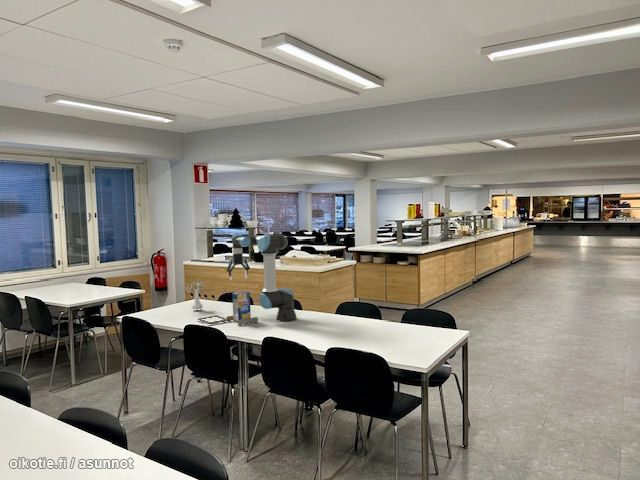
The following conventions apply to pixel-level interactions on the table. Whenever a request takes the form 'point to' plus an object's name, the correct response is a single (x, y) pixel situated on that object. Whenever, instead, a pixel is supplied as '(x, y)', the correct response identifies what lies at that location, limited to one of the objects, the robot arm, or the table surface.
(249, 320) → the carton holder
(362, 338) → the table surface
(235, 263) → the robot arm
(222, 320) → the tray
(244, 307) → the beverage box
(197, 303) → the flower vase
